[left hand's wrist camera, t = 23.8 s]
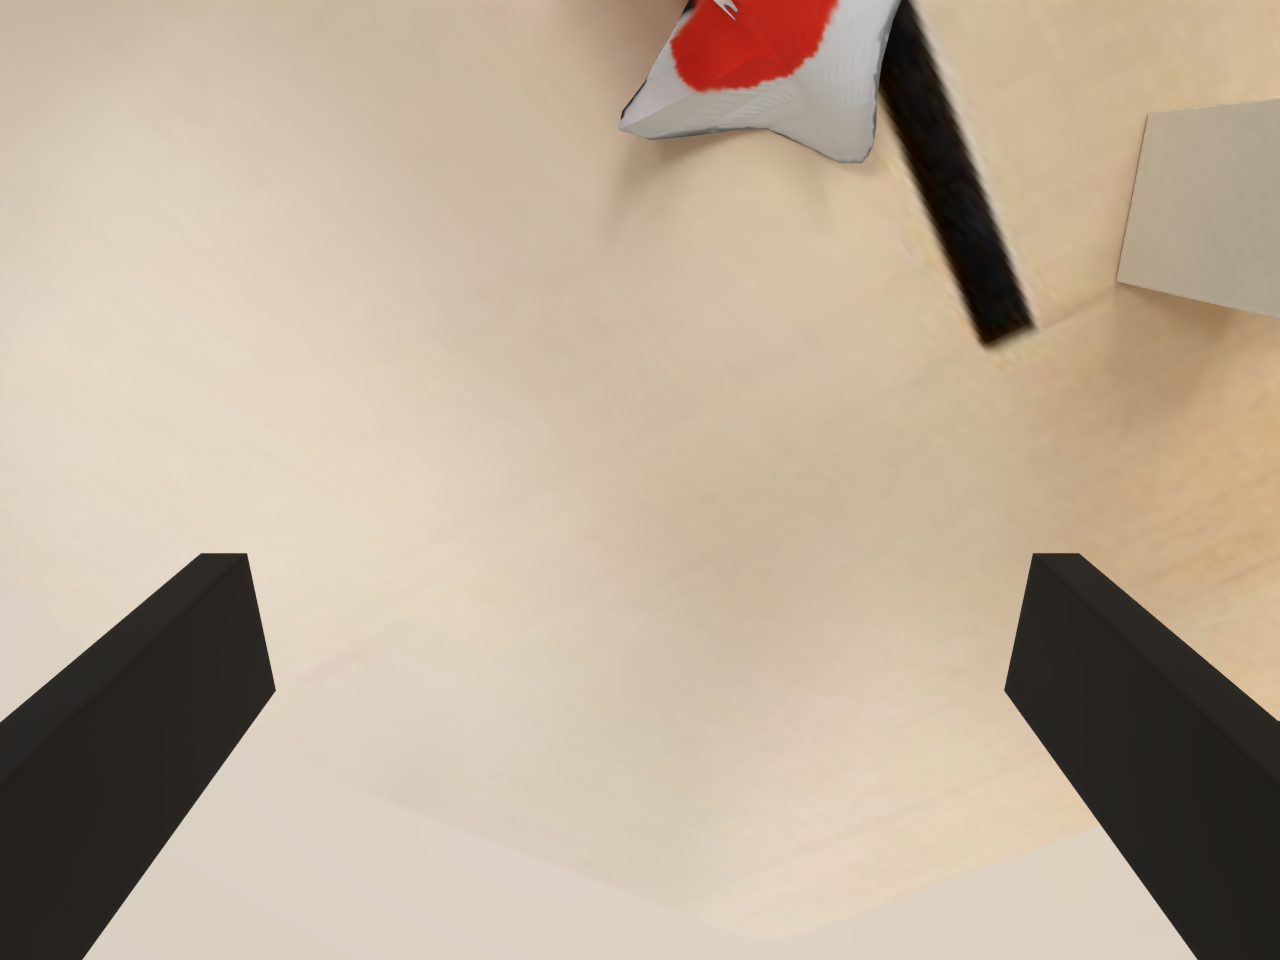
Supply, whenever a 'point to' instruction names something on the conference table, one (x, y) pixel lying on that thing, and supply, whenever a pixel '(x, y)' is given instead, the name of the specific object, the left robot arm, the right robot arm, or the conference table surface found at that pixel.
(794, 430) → the conference table surface
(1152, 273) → the block
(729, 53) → the fish
